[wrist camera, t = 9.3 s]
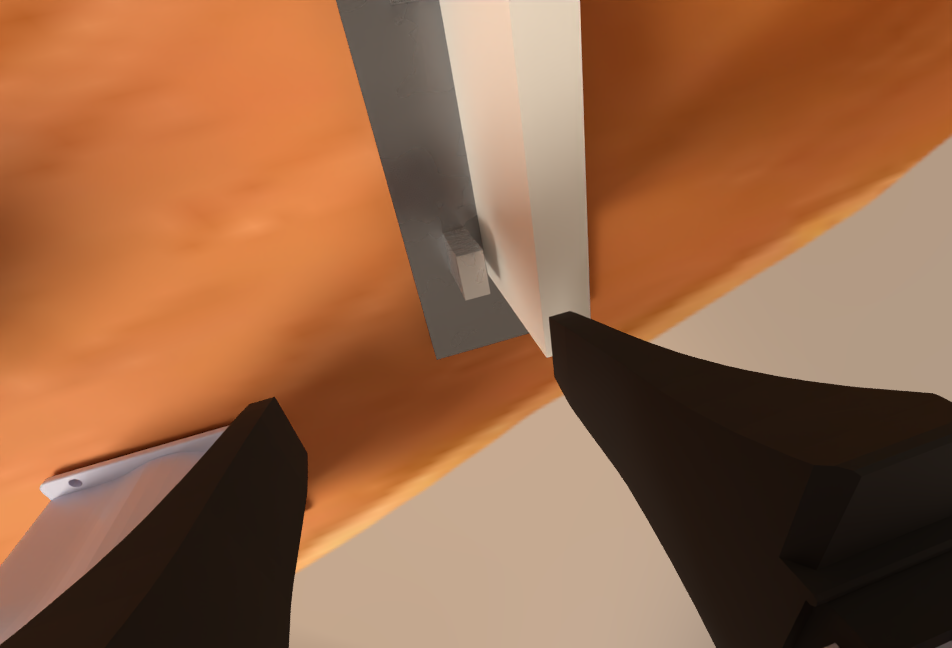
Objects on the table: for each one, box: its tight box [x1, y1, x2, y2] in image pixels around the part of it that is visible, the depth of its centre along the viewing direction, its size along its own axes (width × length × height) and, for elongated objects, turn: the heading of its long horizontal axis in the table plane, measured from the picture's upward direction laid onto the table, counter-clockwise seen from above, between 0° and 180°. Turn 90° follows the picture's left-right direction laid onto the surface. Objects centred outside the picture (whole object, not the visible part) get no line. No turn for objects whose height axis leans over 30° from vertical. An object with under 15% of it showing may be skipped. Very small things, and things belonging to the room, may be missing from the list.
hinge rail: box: [336, 0, 529, 360], centre depth 15 cm, size 8×20×4 cm, turn 10°
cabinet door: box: [439, 0, 591, 358], centre depth 13 cm, size 2×12×7 cm, turn 10°
